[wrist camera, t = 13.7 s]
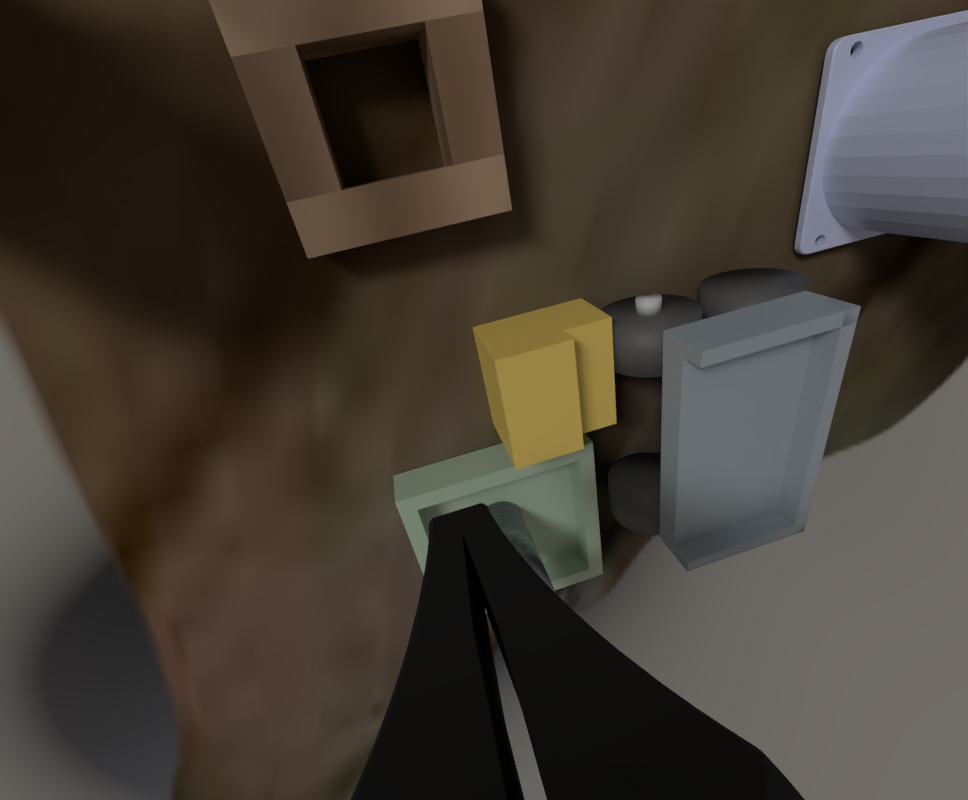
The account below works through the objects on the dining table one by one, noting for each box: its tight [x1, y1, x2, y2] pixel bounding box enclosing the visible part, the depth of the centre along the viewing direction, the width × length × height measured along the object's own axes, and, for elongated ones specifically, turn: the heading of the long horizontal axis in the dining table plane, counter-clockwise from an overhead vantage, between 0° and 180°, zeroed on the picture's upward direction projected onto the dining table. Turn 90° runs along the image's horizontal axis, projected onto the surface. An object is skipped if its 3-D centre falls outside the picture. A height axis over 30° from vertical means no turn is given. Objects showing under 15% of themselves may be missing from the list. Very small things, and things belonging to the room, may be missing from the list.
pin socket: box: [209, 0, 512, 259], centre depth 14 cm, size 7×7×2 cm
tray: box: [393, 433, 603, 613], centre depth 23 cm, size 10×10×2 cm
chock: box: [473, 298, 617, 469], centre depth 19 cm, size 5×5×4 cm
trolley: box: [601, 268, 861, 571], centre depth 20 cm, size 9×12×6 cm
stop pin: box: [487, 501, 569, 606], centre depth 20 cm, size 3×3×7 cm
